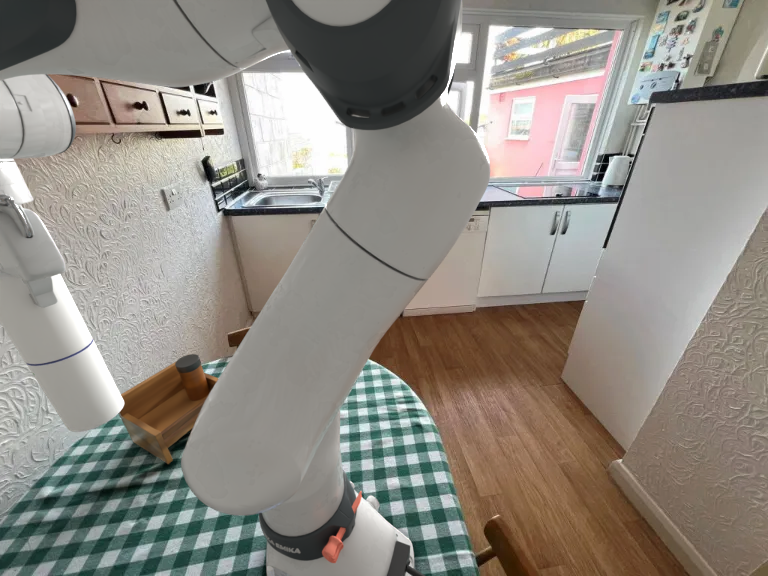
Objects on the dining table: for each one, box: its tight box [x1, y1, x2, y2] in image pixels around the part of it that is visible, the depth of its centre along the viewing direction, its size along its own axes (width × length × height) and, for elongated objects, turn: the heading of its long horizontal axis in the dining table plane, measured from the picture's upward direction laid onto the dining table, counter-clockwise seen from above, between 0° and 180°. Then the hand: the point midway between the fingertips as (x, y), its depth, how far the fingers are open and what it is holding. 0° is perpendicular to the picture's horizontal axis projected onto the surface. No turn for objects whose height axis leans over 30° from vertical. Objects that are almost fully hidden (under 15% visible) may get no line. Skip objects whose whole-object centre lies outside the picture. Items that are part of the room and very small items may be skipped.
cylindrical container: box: [0, 271, 124, 433], centre depth 45 cm, size 7×7×25 cm
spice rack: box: [117, 353, 219, 465], centre depth 67 cm, size 12×16×15 cm
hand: (32, 298), depth 41 cm, fingers closed on cylindrical container, 7 cm apart
